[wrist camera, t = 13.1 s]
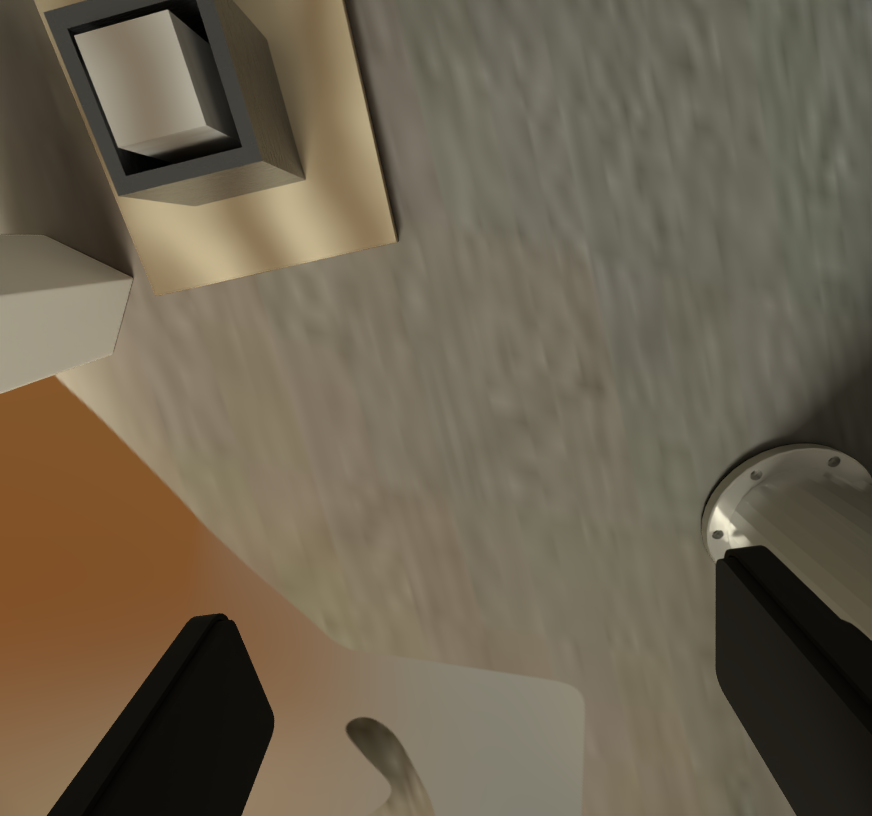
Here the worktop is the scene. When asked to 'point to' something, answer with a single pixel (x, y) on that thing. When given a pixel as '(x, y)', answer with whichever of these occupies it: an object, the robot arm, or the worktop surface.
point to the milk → (54, 308)
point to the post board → (289, 207)
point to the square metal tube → (244, 87)
